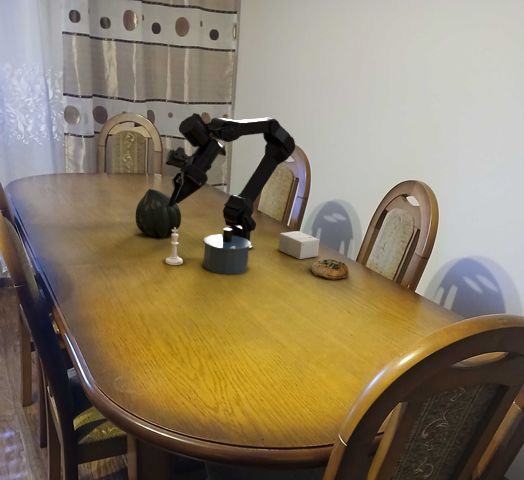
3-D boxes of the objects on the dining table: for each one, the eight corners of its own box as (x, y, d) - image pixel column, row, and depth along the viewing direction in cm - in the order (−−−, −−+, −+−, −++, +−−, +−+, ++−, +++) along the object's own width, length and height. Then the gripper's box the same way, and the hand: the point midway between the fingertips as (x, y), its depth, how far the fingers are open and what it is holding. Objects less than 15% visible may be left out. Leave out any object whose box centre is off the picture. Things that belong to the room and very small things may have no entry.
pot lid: (209, 235, 165) (210, 220, 163) (253, 242, 164) (255, 226, 162) (198, 248, 153) (199, 231, 151) (245, 255, 152) (247, 238, 150)
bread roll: (351, 270, 168) (353, 255, 165) (343, 287, 159) (345, 271, 157) (315, 265, 171) (316, 249, 168) (305, 280, 162) (306, 265, 160)
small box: (277, 249, 181) (299, 259, 174) (279, 232, 178) (301, 242, 171) (296, 247, 185) (317, 256, 178) (298, 230, 183) (320, 239, 176)
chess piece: (165, 258, 162) (166, 224, 158) (183, 259, 163) (184, 225, 158) (164, 264, 158) (165, 229, 154) (182, 265, 159) (183, 230, 154)
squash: (197, 220, 183) (173, 179, 181) (166, 230, 171) (141, 186, 170) (172, 240, 192) (149, 201, 191) (141, 251, 180) (117, 210, 179)
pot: (209, 257, 167) (210, 234, 164) (249, 263, 166) (252, 240, 163) (199, 270, 156) (200, 246, 153) (242, 276, 155) (244, 252, 152)
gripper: (172, 145, 162) (142, 190, 161) (187, 131, 145) (153, 181, 143) (203, 170, 166) (174, 214, 165) (221, 159, 149) (189, 208, 148)
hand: (172, 204), depth 155 cm, fingers open, 9 cm apart
